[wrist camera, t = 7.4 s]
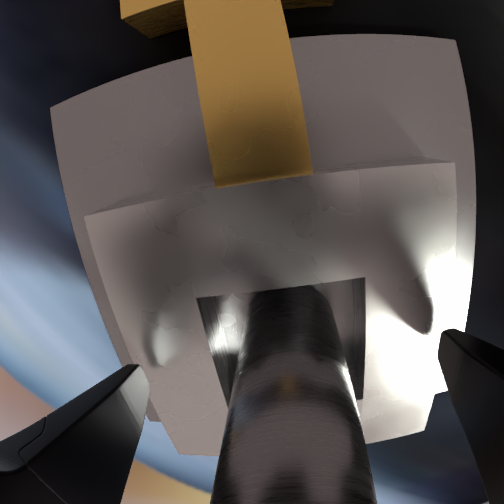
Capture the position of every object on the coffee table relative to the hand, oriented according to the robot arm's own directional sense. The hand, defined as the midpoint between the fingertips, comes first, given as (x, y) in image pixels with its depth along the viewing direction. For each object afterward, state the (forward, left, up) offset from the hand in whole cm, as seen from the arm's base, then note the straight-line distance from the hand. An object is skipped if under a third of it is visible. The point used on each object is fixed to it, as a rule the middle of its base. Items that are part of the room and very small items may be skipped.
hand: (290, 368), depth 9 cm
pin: (0, 0, -2) cm, 2 cm away
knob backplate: (0, -4, -3) cm, 5 cm away
